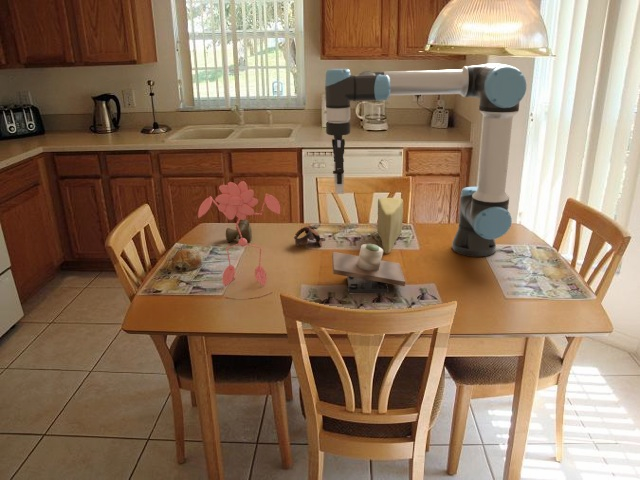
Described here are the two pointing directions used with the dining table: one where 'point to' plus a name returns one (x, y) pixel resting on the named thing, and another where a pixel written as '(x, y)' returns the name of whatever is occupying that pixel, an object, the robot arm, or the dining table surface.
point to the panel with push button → (368, 266)
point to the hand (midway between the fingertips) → (338, 187)
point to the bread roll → (186, 260)
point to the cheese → (389, 221)
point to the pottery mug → (307, 236)
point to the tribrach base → (366, 286)
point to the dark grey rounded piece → (244, 230)
